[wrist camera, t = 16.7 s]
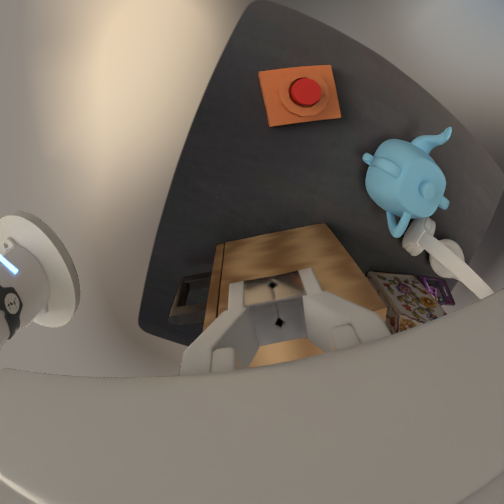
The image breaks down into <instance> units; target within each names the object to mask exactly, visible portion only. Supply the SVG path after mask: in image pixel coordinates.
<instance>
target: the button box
mask: <svg viewBox="0 0 504 504" xmlns="http://www.w3.org/2000/svg"><path fill="white" fill-rule="evenodd" d="M258 76H259V81H260V85H261V89H262V94H263V99H264V103H265V108H266V113H267V117H268V122H269V127H274V126H280V125H286V124H293V123H300V122H308V121H316V120H325V119H335V118H341V114H340V108H339V102H338V97H337V92H336V87H335V82H334V77H333V73H332V68H331V65H319V66H304V67H293V68H284V69H276V70H269V71H262V72H259V74H258ZM302 78H309V79H312V80H314V81H316V82H317V83H318V85H319V86H320V88H321V97H320V99H319V100H318V101H317V102H316V103H314V104H311V105H307V106H304V105H300V104H298V103H296V102H295V101H294V100H293V98H292V96H291V87H292V85H293V84H294V83H295V82H297V81H298V80H300V79H302Z"/></svg>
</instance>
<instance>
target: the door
mask: <svg viewBox="0 0 504 504" xmlns="http://www.w3.org/2000/svg"><path fill="white" fill-rule="evenodd" d="M224 250H225V244H224V243H222V244H217V247H216V253H215V258H214V264H213V270H212V272H207V273H202V274H196V275H191V276H185V277H182V278H181V281H180V284H179V287H178V290H177V293H176V296H175V299H174V302H173V305H172V308H171V311H170V315H169V318H168V320H169V322H170V323H171V324H173V325H181V324H188V323H196V322H203V321H204V327H203V332H204V330H205V329H206V328H207V327H208V326H209V325H210V324H211V323H212V322H213V321H214V320H215V319H216V318H217V317H218V307H219V297H220V287H221V278H222V268H223V259H224ZM208 287H210V288H209V295H208V301H207V303H200V304H194V305H188V306H185V304H186V300H187V296H188V293H189V291H191V290H197V289H202V288H208Z"/></svg>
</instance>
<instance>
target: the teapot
mask: <svg viewBox="0 0 504 504" xmlns="http://www.w3.org/2000/svg"><path fill="white" fill-rule="evenodd" d="M451 131H452V129H451V127H447V128H446V129H445V130H444V131H443V132H442V133H441V134H439V135H422V136H419V137H417V138H415V139H414V140H413V141H412V142H411V143H410V142H407V141H403V140H399V139H389V140H386V141H384V142H383V143H382V144H381V145H380V146H379V147H378V149H377V150H376V152H375V154H374V156H372V155H370V154H369V153H365V154H364V155H363V161H364V162H365V163H367V164H368V165H369V168H368V171H367V175H366V180H365V185H366V190H367V192H368V194H369V196H370V197H371V198H372V200H373V201H374V202H375V203H376V204H377V205H378V206H379V207H381V208H382V209H384V210H385V211H386V214H387V221H388V227H389V230H390V233H391V234H392V236H393V237H395V238H399V237H401V236H402V235H403V233H404V232H405V230H406V228H407V226H408V223H409V221H410V218H412V219H417V218H426V217H429V216H431V215H432V214H433V213H434V212H435V210H436V209H437V207H440V208H442V209H444V210H446V209H447V208H448V206H449V201H448V200H447V199H446V198H445V197H444V196H443V194H444V191H445V187H446V180H445V176H444V174H443V173H442V171H441V169H440V168H439V167H438V165H437V164H436V163H435V161H434V160H433V159H432V158H431V157H430V156H429V153H430V151H431V150H432V149H433V148H434V147H436V146H439V145H442V144H444V143H445V142H446V141H447V140H448V139H449V137H450V135H451ZM394 215H396V216H400V217H401V219H400V221H399V223H398V225H397V223H396V221H395V217H394Z"/></svg>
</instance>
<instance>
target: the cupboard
mask: <svg viewBox="0 0 504 504" xmlns="http://www.w3.org/2000/svg"><path fill="white" fill-rule="evenodd" d="M310 267H311V268H313V271H314V273H315V275H316V277H317V279H318V281H319V284H320V286H321V288H322V290H323V291H329V292H331V293H333V294H336V295H338V296H340V297H342V298H344V299H347V300H349V301H351V302H353V303H355V304H358V305H360V306H362V307H364V308H366V309H369V310H371V311H373V312H375V313H378V314H379V315H380V316H381V318H382V320H383V321H384V323H385V320H386V312H387V307H386V305H385V304H384V302H383V301H382V299H381V298H380V297H379V295H378V294H377V292H376V291H375V289H374V288H373V287H372V285H371V284H370V282H369V281H368V279H367V278H366V277H365V275H364V274H363V272H362V271H361V270H360V268H359V267H358V266H357V264H356V263H355V262H354V260H353V259H352V258H351V256H350V255H349V253H348V252H347V251H346V250H345V248H344V247H343V246H342V244H341V243H340V242H339V240H338V239H337V238H336V236H335V235H334V234H333V233H332V231H331V230H330V229H329V228H328V226H327V225H326V224H325V223H321V224H315V225H310V226H305V227H300V228H295V229H290V230H285V231H279V232H274V233H269V234H264V235H259V236H254V237H250V238H245V239H240V240H235V241H230V242H226V243H225V250H224V259H223V268H222V278H221V287H220V297H219V307H218V316H219V315H220V314H221V313H222V312H223V311H225V310H228V297H229V285H230V283H235V282H239V281H246V280H252V279H257V278H263V277H269V276H275V275H280V274H284V273H289V272H293V271H297V270H301V269H306V268H310ZM259 347H260V348H259V350H258V351H257V353H256V355H255V357H254V358H253V360H252V362H251V363H250V365H249V367H248V368H252V367H258V366H265V365H270V364H276V363H282V362H287V361H292V360H297V359H302V358H307V357H311V356H316V355H320V354H324V353H325V352H324V351H322V350H321V349H320V348H319V347H317V346H316V345H315V344H314V343H312V342H311V341H310V340H309V339H308V338H307V337H306V338H300V339H295V340H289V341H283V342H279V343H274V344H269V345H264V346H259Z"/></svg>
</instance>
